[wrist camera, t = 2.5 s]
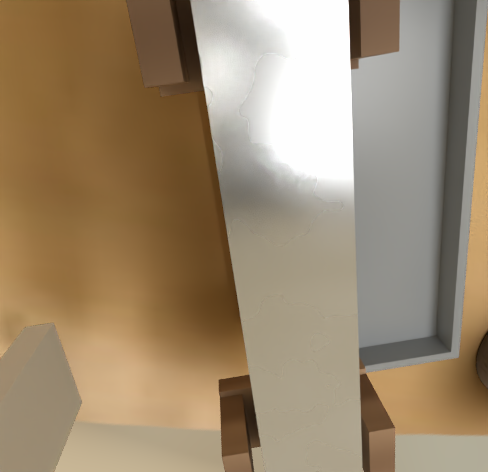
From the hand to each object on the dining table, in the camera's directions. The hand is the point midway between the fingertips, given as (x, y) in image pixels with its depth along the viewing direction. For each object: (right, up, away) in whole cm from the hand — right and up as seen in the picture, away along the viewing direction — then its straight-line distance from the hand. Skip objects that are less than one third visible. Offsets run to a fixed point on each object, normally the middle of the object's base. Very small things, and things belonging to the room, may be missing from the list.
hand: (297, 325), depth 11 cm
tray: (+8, +7, +14) cm, 18 cm away
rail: (0, +2, +4) cm, 5 cm away
